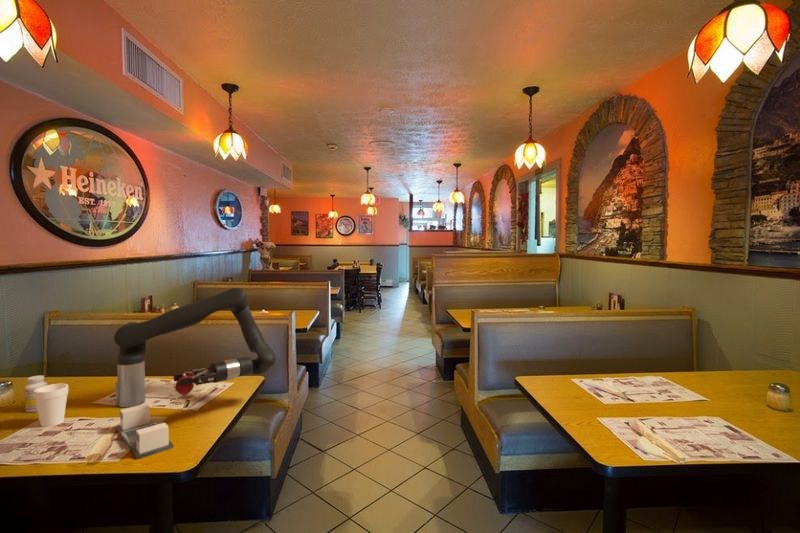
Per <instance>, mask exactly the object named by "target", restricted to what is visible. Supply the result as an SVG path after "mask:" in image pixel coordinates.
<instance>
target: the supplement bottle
mask: <svg viewBox="0 0 800 533" xmlns="http://www.w3.org/2000/svg"><path fill="white" fill-rule="evenodd" d="M44 380H45V375H43V374H42V375H33V376H29V377H28V378H27V382H28V384H26V385H25V386H24V404H25V405H24V406H25V411H26V412H27V413H35V412H38V411H37V406H36V401H35V398H34V390H35V389H37V388H39V387H42V386H46V385H49V384H48V382H47V381H44Z"/></svg>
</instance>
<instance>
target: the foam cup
mask: <svg viewBox="0 0 800 533" xmlns="http://www.w3.org/2000/svg"><path fill="white" fill-rule="evenodd" d="M68 394H69V384H68V383H52V384H48V385H46V386H42V387H39V388H37V389H35V390H34V398H35V401H36V406H37V411H36V412H37V414H38V419H39V423H40V427H43V428H44V427H45V428H46V427H47V428H48V427H49V428H50V427H53V426H58V425H60V424H62V423H64V420H65V414H66V406H67V400H68Z"/></svg>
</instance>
